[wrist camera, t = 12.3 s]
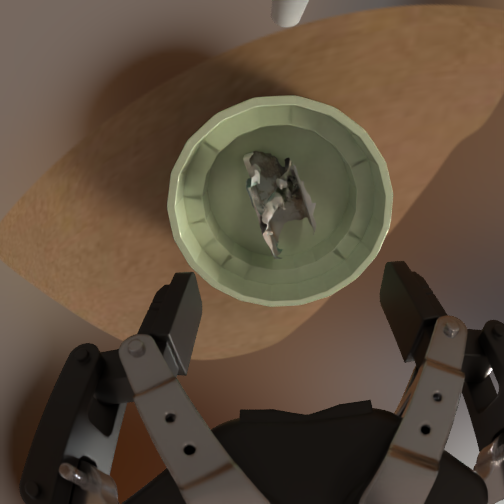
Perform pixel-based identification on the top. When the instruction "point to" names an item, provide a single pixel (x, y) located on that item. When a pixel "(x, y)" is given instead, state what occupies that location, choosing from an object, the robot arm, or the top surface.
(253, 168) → the crumpled paper
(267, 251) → the bowl
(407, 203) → the top surface
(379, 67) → the top surface
